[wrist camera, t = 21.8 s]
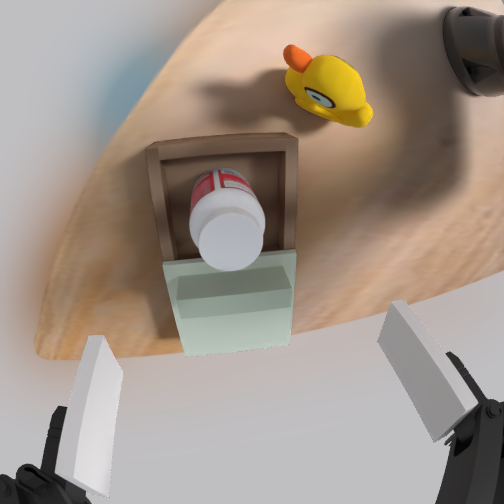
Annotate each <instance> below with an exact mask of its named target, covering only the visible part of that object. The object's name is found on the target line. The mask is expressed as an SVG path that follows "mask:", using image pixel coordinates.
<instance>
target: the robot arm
mask: <svg viewBox="0 0 504 504" xmlns="http://www.w3.org/2000/svg"><path fill="white" fill-rule="evenodd" d="M443 34H444V42H445V47H446V51H447V54H448V57H449V60H450V62H451V65H452V67H453V69H454V71H455V73H456V75H457V76H458V78H459V79H460V81H461V82H462V83H463V85H464V86H465V87H466V88H467V89H468V90H470V91H471V92H472V93H474V94H476V95H480V96H485V97H496V96H501V95H504V15H496V14H493V13H490V12H487V11H483V10H480V9H476V8H473V7H466V6H465V7H457V8H453V9H451V10H450V11H449V12H448V13H447V15H446V17H445V20H444V27H443ZM377 342H378V343H379V345H380V347H381V348H382V350H383V352H384V353H385V355H386V357H387V358H388V360H389V362H390V363H391V365H392V367H393V368H394V370H395V372H396V374H397V375H398V377H399V379H400V380H401V382H402V384H403V386H404V387H405V390H406V391H407V393H408V395H409V397H410V399H411V400H412V402H413V404H414V406H415V408H416V410H417V411H418V413H419V415H420V417H421V419H422V421H423V423H424V424H425V426H426V428H427V430H428V432H429V434H430V436H431V438H432V440H433V442H436V441H437V440H440V439H441V438H443V437H445V436H447V435H448V434H449V433H450V432H451V431H452V430H454V432H455V433H454V434H453V435H451V436H450V437H449V438H448V439H447V441H446V442H445V444H444V445H447V444H448V443H449V442H451V441H452V442H451V443H450V445H449V446H451V447H450V451H449V456H448V461H447V465H446V469H445V473H444V476H443V480H442V484H441V487H440V491H439V494H438V497H437V500H436V503H435V504H504V402H500V403H499V402H498V401H496V400H494V399H489V400H488V399H487V398H486V397H485V395H484V394H483V393H482V391H481V389H480V388H479V386H478V385H477V384H476V382H475V381H474V379H473V378H472V377H471V375H470V374H469V372H468V370H467V369H466V368H464V365H463V363H462V362H461V361H460V359H459V358H458V357H457V356H455V355H454V354H452V353H451V352H447V353H445V352H444V351H443V350H442V348H441V347H440V346H439V344H438V343H437V342H436V340H435V339H434V337H433V336H432V335H431V334H430V332H429V331H428V330H427V328H426V327H425V326H424V324H423V323H422V322H421V321H420V319H419V318H418V317H417V315H416V314H415V313H414V312H413V311H412V309H411V308H410V307H409V305H408V304H407V303H406V302H405V300H404V299H401V300H396V301H391V303H390V306H389V309H388V312H387V315H386V319H385V321H384V324H383V327H382V330H381V332H380V336H379V338H378V341H377ZM122 379H123V372H122V370H121V368H120V366H119V364H118V362H117V361H116V359H115V357H114V355H113V353H112V351H111V349H110V347H109V345H108V343H107V341H106V339H105V337H104V335H89V337H88V340H87V343H86V346H85V349H84V352H83V355H82V358H81V361H80V365H79V368H78V371H77V375H76V378H75V382H74V385H73V389H72V392H71V396H70V400H69V404H68V407H64V406H58V407H57V409H56V410H55V412H54V413H53V415H52V418H51V422H50V428H49V430H48V434H47V435H48V437H47V439H46V444H45V448H44V454H43V459H42V464H41V468H40V469H38V468H37V467H35V466H34V465H32V464H24V465H22V466H21V467H19V469H18V470H17V473H16V479H12V478H10V477H9V476H7V475H4V474H1V475H0V504H91V502H90V501H89V499H87V497H86V491H87V492H89V493H91V494H93V495H97V496H103V497H110V479H111V464H112V451H113V443H114V433H115V425H116V417H117V410H118V403H119V397H120V390H121V384H122Z"/></svg>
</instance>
